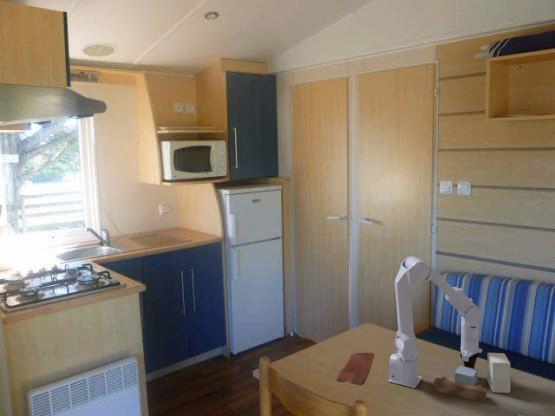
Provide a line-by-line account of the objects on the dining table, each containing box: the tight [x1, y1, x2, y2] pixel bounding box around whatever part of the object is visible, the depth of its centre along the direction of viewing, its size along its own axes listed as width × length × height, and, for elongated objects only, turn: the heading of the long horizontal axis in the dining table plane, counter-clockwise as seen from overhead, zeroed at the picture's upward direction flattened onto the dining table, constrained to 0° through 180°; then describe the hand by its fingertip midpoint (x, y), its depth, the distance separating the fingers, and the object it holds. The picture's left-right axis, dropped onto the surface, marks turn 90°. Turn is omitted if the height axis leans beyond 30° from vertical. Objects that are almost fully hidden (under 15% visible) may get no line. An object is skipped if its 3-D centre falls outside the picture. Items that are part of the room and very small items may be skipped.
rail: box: [433, 376, 487, 403], centre depth 163 cm, size 16×4×4 cm, turn 56°
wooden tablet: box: [336, 352, 375, 386], centre depth 186 cm, size 27×10×2 cm, turn 158°
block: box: [454, 365, 479, 386], centre depth 169 cm, size 6×6×4 cm
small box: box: [486, 352, 511, 394], centre depth 165 cm, size 8×6×10 cm
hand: (469, 372), depth 174 cm, fingers closed
